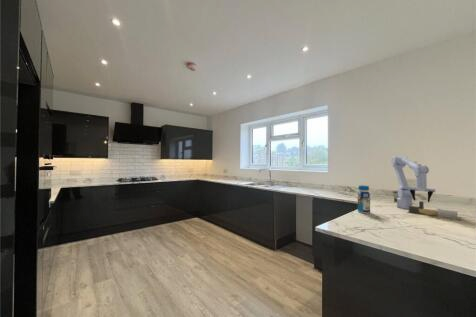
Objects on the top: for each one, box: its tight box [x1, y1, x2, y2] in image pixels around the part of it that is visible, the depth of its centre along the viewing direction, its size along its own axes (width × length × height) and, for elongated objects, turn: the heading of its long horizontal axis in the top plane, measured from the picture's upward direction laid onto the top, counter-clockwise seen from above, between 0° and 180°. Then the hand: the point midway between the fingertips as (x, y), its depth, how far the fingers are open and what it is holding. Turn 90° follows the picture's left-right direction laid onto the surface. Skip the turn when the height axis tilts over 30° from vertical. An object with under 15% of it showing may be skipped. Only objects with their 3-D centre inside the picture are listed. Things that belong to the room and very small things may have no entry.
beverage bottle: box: [357, 185, 371, 214], centre depth 154 cm, size 8×8×20 cm
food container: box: [392, 190, 400, 203], centre depth 193 cm, size 12×6×10 cm, turn 59°
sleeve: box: [437, 208, 459, 219], centre depth 136 cm, size 9×4×4 cm, turn 42°
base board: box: [406, 210, 462, 222], centre depth 142 cm, size 26×12×1 cm, turn 42°
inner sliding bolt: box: [418, 200, 438, 215], centre depth 143 cm, size 16×3×8 cm, turn 42°
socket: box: [408, 204, 419, 214], centre depth 149 cm, size 5×7×4 cm
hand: (421, 201), depth 146 cm, fingers open, 7 cm apart
